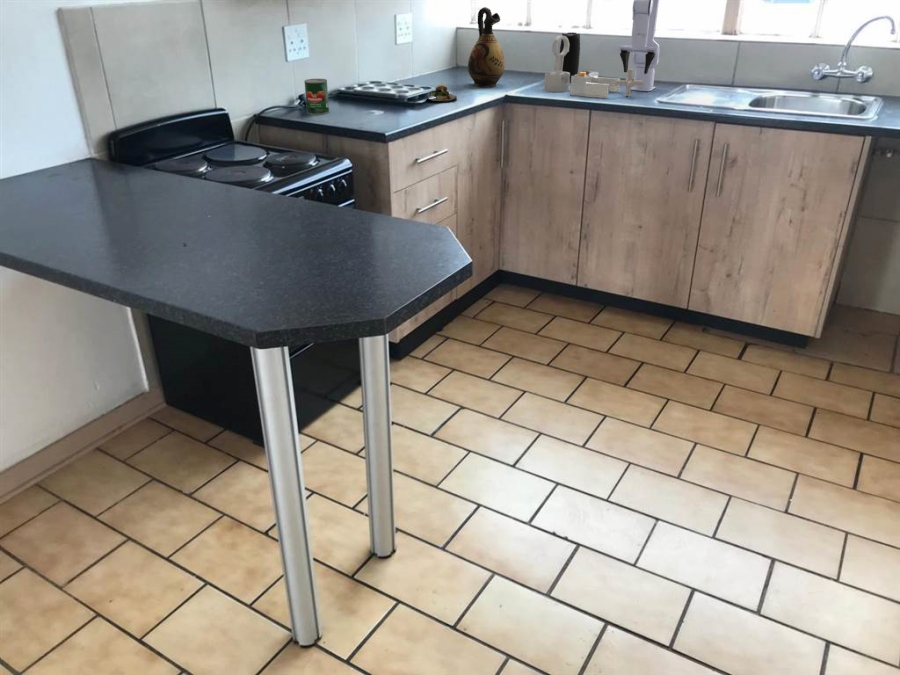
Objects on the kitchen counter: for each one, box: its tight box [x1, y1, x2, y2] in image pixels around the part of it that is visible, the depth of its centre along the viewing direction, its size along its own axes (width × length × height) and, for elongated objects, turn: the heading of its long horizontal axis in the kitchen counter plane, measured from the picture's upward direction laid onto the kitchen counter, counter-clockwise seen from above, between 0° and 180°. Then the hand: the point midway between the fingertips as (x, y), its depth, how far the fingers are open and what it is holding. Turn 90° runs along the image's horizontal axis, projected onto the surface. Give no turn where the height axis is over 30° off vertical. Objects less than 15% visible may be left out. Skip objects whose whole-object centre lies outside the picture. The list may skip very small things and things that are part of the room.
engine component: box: [543, 34, 571, 93], centre depth 299 cm, size 11×20×10 cm
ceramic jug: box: [467, 6, 506, 88], centre depth 307 cm, size 17×15×30 cm
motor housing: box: [569, 68, 621, 99], centre depth 294 cm, size 16×15×8 cm
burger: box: [427, 83, 458, 102], centre depth 283 cm, size 12×12×8 cm
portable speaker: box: [559, 32, 581, 81], centre depth 319 cm, size 8×9×19 cm
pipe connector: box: [616, 68, 643, 97], centre depth 287 cm, size 10×10×10 cm
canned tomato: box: [303, 78, 330, 116], centre depth 263 cm, size 8×8×11 cm
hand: (635, 72), depth 278 cm, fingers open, 7 cm apart
